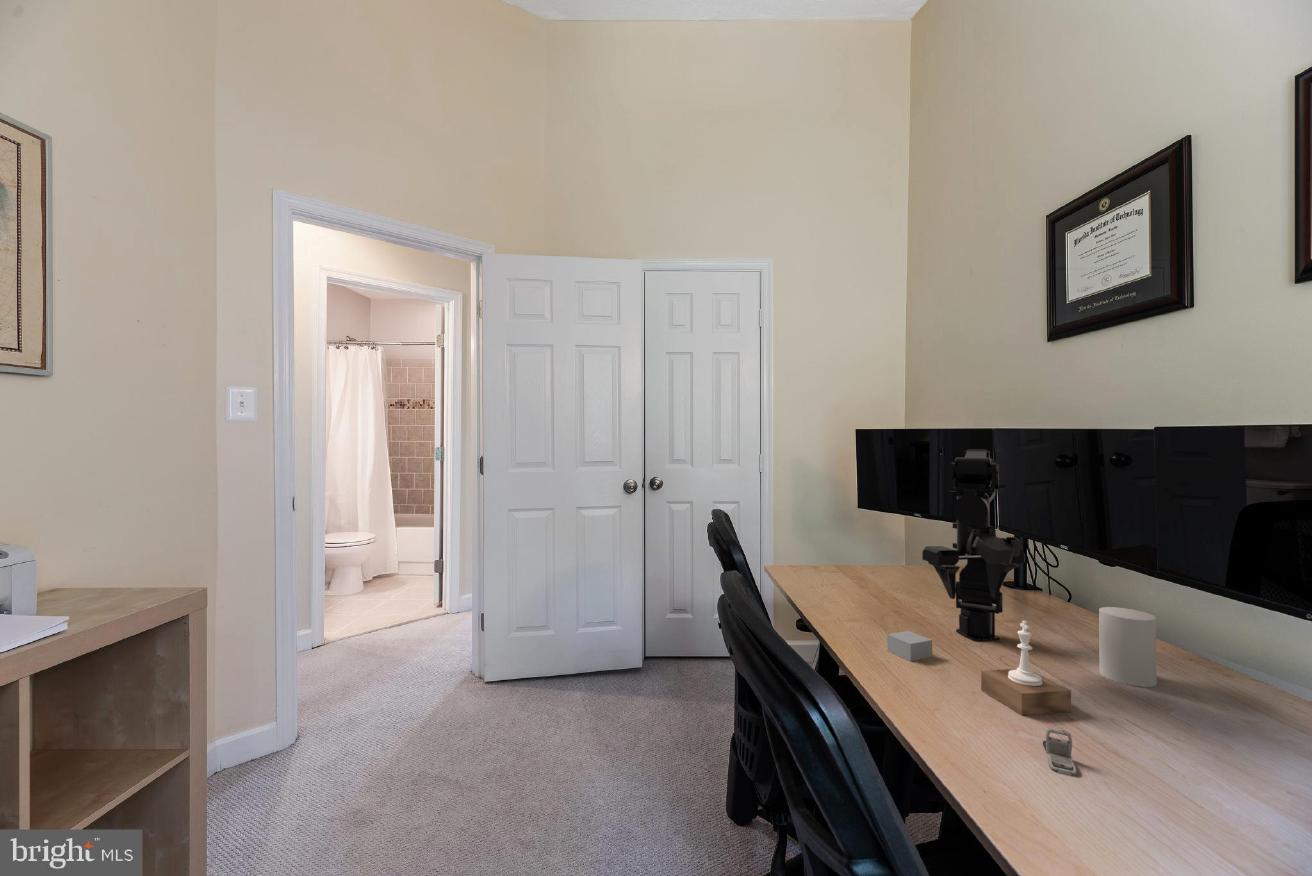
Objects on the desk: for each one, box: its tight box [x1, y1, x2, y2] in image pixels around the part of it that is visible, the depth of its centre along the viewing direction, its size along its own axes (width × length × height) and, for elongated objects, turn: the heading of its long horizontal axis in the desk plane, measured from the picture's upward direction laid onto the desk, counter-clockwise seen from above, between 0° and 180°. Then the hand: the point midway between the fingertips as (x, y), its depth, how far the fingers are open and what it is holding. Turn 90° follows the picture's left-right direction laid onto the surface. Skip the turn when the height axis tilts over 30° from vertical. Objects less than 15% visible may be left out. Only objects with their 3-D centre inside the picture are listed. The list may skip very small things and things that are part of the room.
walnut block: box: [980, 668, 1072, 716], centre depth 94 cm, size 9×9×4 cm
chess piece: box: [1008, 620, 1042, 686], centre depth 94 cm, size 5×5×10 cm
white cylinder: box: [1098, 606, 1157, 688], centre depth 103 cm, size 8×8×12 cm
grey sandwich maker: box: [1042, 727, 1077, 777], centre depth 76 cm, size 8×3×4 cm, turn 151°
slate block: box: [886, 630, 933, 662], centre depth 114 cm, size 6×6×4 cm
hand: (973, 597), depth 110 cm, fingers open, 9 cm apart
